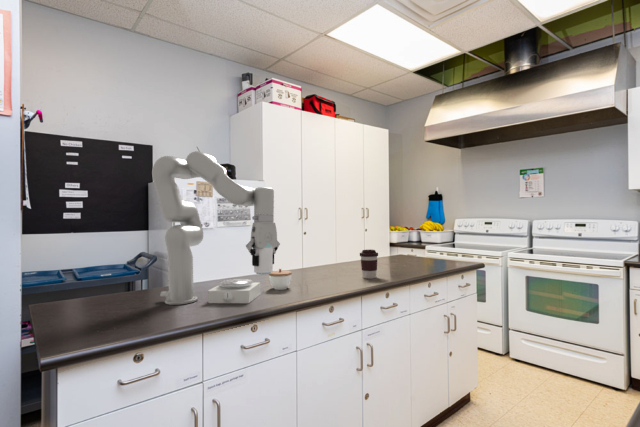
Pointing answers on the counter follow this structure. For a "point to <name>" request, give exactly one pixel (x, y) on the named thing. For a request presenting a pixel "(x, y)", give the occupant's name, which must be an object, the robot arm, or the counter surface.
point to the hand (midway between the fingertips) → (263, 264)
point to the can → (265, 260)
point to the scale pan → (235, 283)
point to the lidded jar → (280, 279)
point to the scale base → (234, 294)
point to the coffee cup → (369, 263)
